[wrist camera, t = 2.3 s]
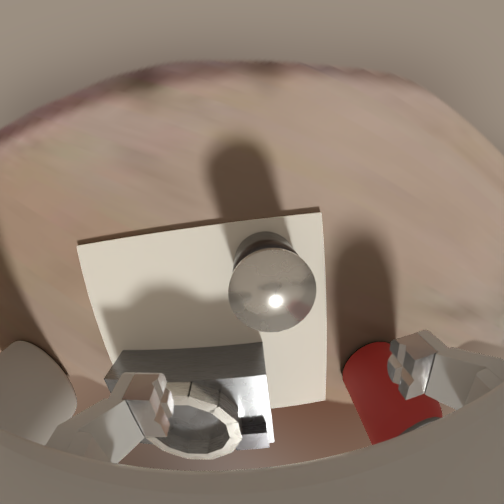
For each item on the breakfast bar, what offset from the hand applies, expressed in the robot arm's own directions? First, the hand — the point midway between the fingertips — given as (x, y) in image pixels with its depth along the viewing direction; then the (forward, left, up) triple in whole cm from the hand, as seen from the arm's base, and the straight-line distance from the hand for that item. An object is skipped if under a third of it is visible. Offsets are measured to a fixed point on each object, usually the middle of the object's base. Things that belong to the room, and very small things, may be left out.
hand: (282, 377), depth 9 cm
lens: (0, 0, -15) cm, 15 cm away
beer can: (-10, +13, -15) cm, 23 cm away
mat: (+6, +6, -15) cm, 17 cm away
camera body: (+8, +12, -15) cm, 20 cm away
